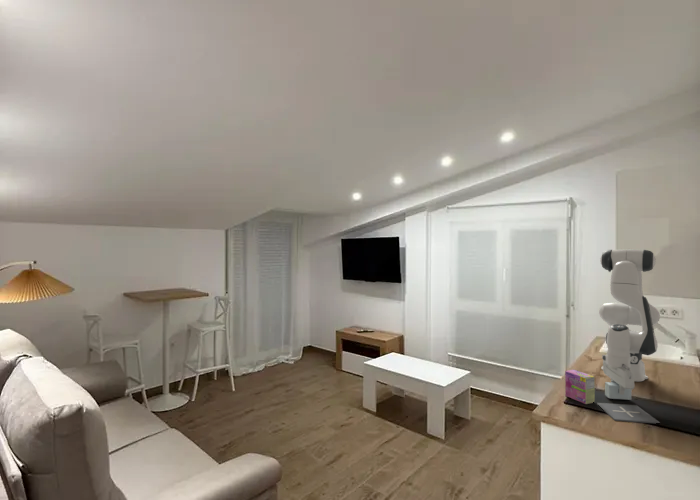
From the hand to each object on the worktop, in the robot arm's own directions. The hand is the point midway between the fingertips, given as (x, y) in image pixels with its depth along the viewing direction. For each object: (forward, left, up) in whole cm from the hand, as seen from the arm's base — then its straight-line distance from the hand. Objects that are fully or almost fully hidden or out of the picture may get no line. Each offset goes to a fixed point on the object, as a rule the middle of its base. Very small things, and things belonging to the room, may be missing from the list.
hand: (618, 391), depth 174 cm
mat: (+15, -4, -4) cm, 16 cm away
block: (0, 0, -3) cm, 3 cm away
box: (+3, -17, -4) cm, 18 cm away
